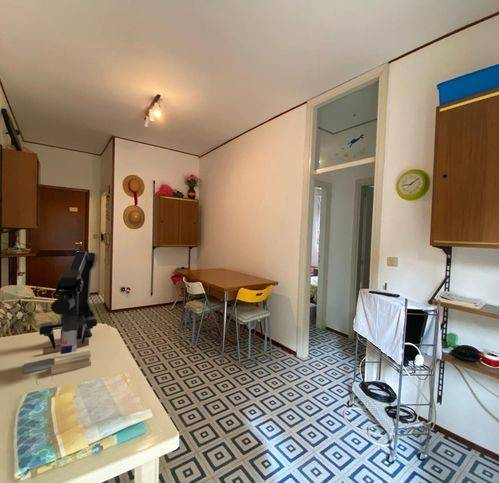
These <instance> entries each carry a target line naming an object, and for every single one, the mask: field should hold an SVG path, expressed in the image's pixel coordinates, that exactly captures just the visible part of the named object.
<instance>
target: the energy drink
mask: <svg viewBox="0 0 499 483" xmlns="http://www.w3.org/2000/svg"><path fill="white" fill-rule="evenodd" d="M77 340H78V339H77V330H75V331H74V330H72V331H68V332H64V331H63V328H61V329H60V343H61V351H59V352H60V353H59V355H61V354H66V353H71V352H75V351H78V349H77Z"/></svg>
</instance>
